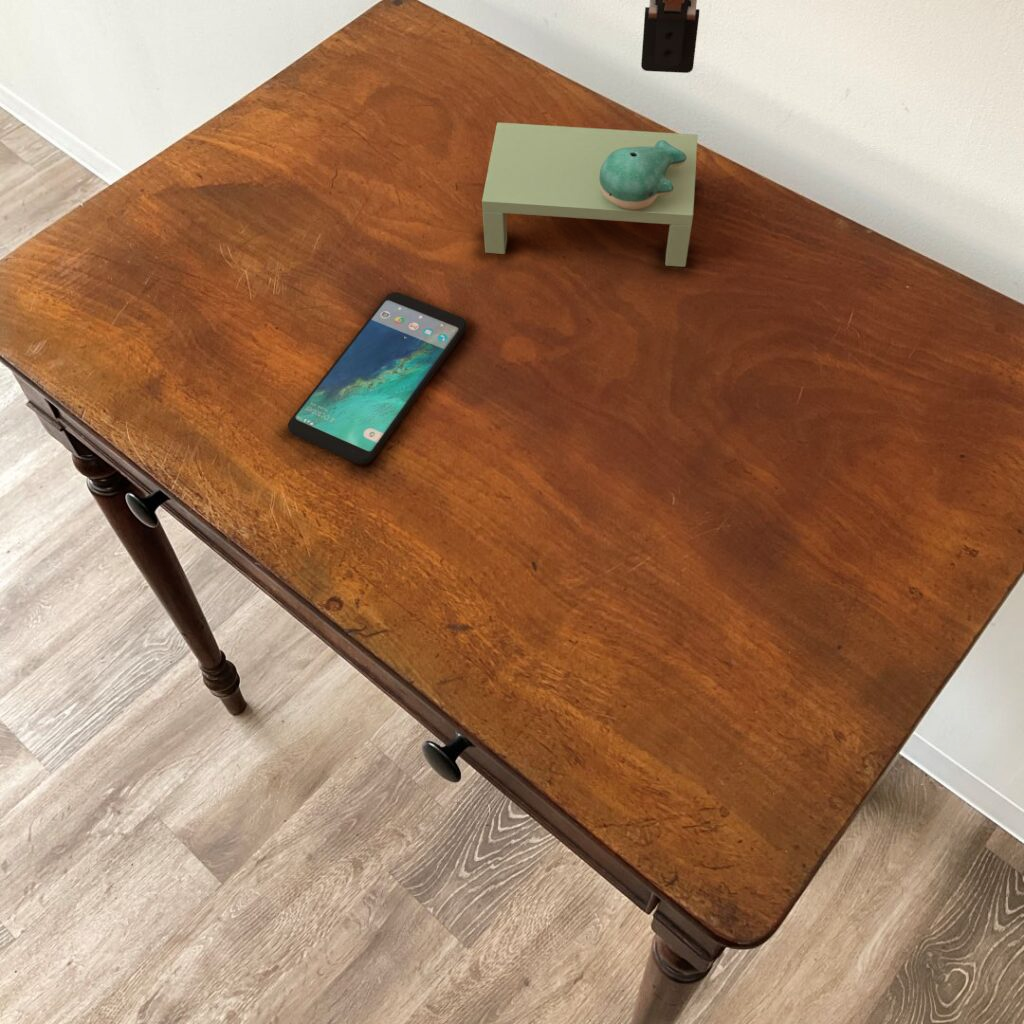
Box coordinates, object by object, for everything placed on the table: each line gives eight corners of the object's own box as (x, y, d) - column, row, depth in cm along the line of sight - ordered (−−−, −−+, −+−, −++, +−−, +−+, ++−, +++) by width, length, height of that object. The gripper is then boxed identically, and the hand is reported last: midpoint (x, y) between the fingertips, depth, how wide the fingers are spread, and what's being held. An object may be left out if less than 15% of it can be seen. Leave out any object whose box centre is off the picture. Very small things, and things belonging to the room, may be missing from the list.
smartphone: (470, 319, 84) (366, 464, 77) (471, 325, 85) (367, 470, 78) (391, 287, 86) (281, 427, 79) (392, 294, 87) (284, 433, 80)
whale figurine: (581, 189, 85) (582, 149, 81) (647, 143, 87) (651, 103, 84) (635, 228, 82) (639, 189, 79) (703, 180, 85) (709, 140, 81)
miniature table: (690, 188, 92) (697, 134, 87) (685, 267, 87) (693, 215, 83) (499, 175, 93) (497, 122, 89) (485, 253, 89) (481, 200, 84)
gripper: (771, -192, 52) (726, 111, 67) (772, -351, 61) (732, -54, 76) (612, -196, 53) (601, 105, 67) (636, -352, 62) (622, -57, 77)
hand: (670, 21), depth 72 cm, fingers open, 9 cm apart
